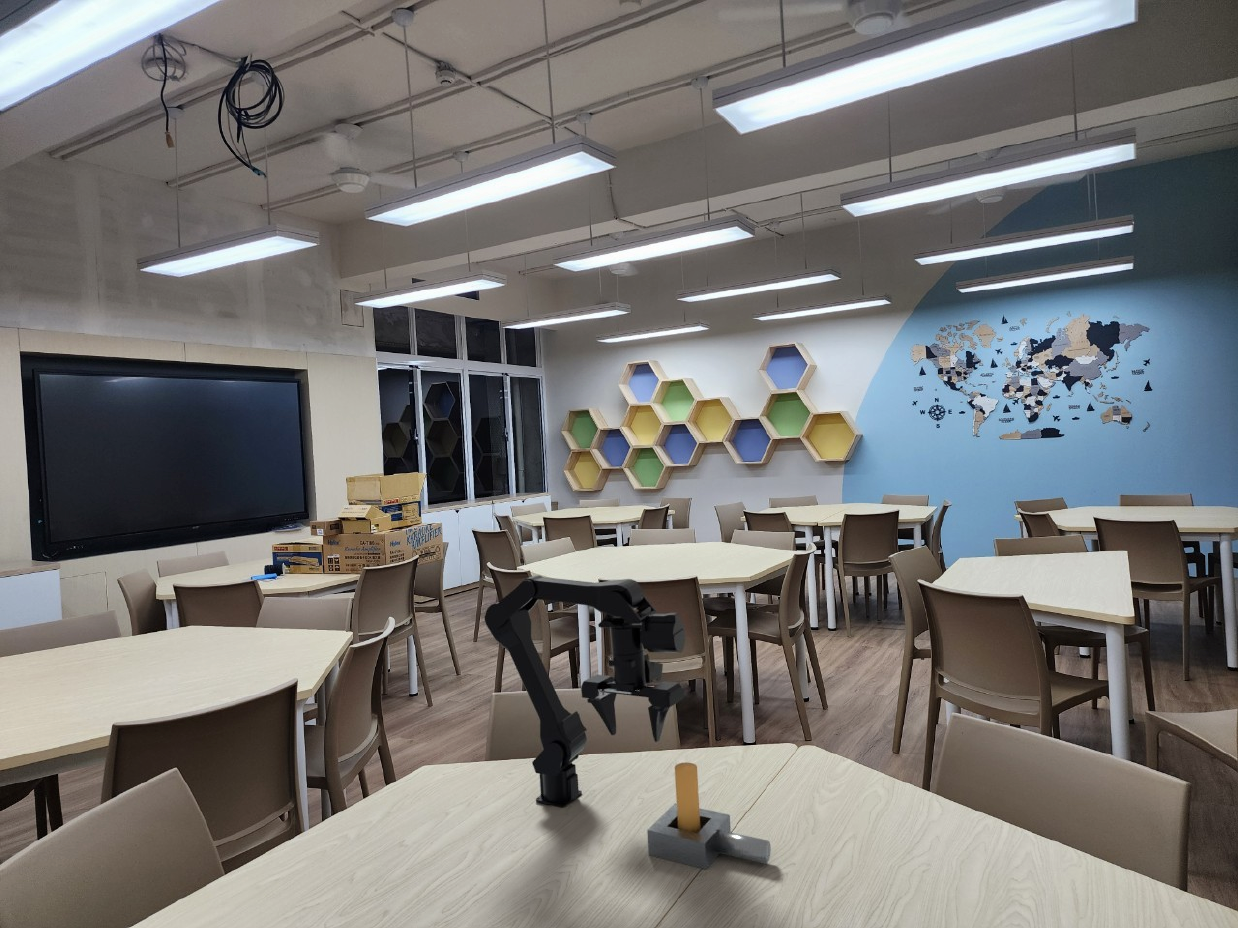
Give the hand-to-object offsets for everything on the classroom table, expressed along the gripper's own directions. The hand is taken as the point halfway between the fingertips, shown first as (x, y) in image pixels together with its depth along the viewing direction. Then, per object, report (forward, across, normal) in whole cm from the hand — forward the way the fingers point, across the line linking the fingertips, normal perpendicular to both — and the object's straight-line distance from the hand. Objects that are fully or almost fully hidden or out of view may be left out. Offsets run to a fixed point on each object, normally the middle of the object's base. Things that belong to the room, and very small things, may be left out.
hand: (635, 737), depth 136 cm
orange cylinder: (+13, -14, +7) cm, 20 cm away
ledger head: (+14, -18, +7) cm, 23 cm away
